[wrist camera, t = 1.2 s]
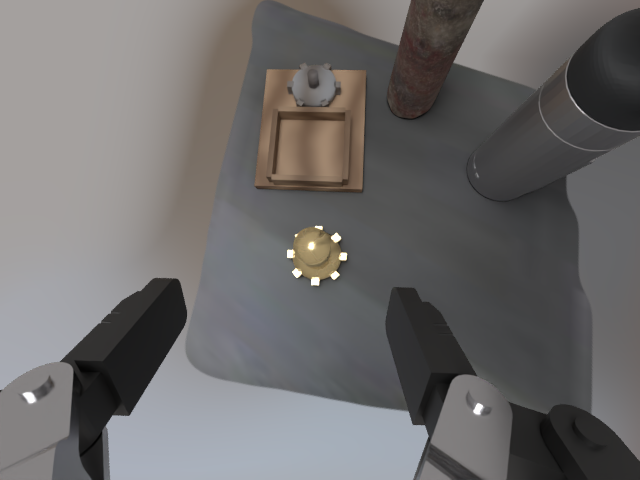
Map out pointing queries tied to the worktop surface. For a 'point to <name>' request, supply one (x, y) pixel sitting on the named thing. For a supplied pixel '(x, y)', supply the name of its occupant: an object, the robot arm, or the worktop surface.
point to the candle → (428, 52)
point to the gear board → (312, 130)
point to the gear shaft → (316, 254)
